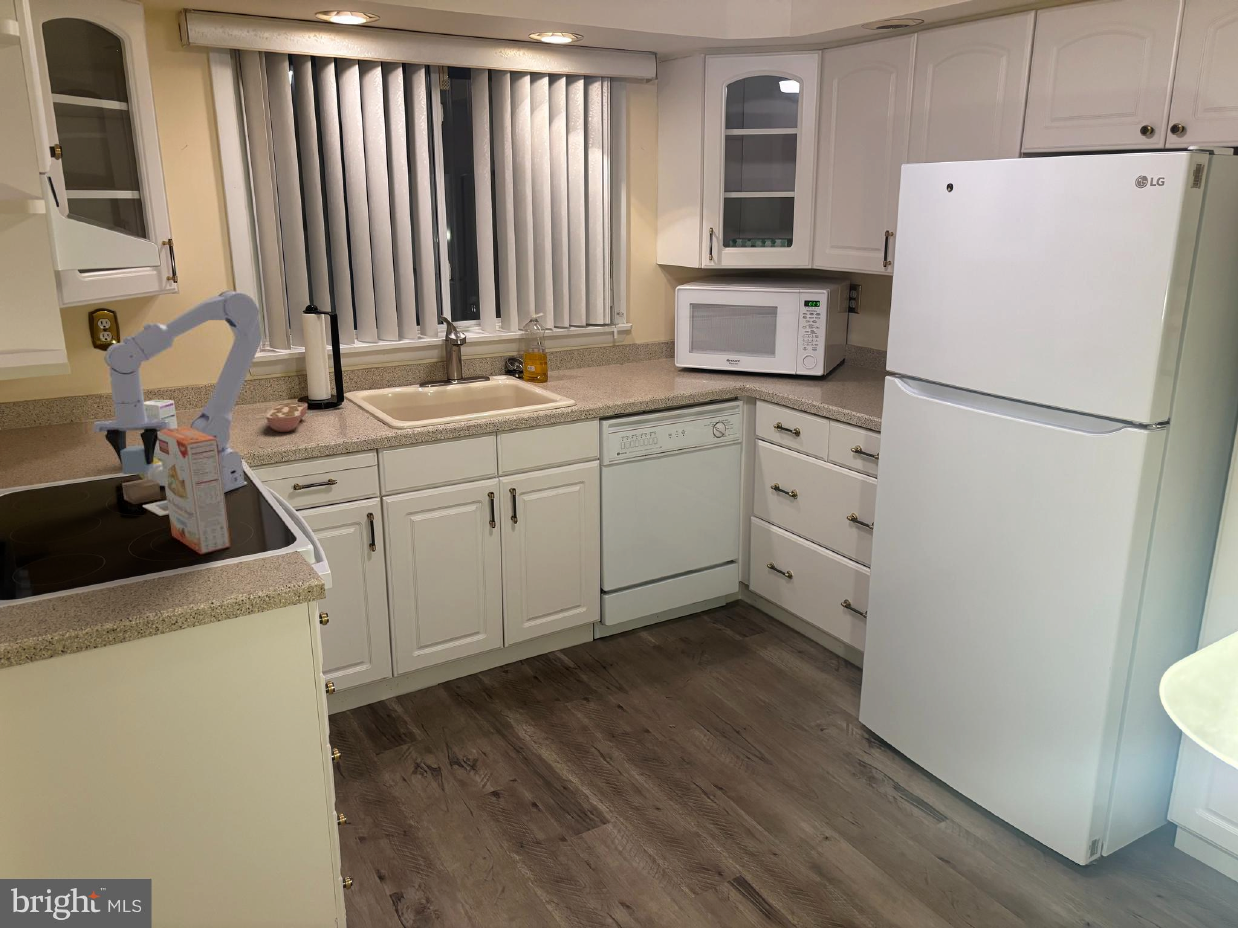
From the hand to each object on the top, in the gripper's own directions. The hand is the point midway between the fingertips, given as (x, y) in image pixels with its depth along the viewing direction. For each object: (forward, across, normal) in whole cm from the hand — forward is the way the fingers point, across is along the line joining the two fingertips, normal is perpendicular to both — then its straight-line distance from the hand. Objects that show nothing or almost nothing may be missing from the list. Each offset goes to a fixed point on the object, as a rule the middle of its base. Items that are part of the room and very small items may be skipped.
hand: (137, 463), depth 198 cm
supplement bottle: (+5, +4, -16) cm, 17 cm away
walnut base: (+8, 0, 0) cm, 8 cm away
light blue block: (+2, 0, 0) cm, 2 cm away
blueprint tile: (+8, -7, +8) cm, 13 cm away
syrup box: (+8, +8, -37) cm, 38 cm away
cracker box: (+8, -21, +31) cm, 38 cm away
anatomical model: (+8, -15, -71) cm, 73 cm away
